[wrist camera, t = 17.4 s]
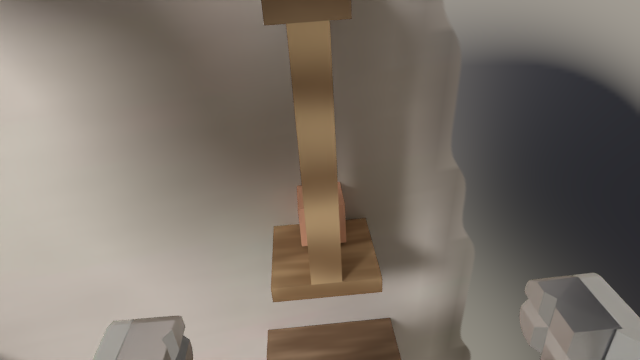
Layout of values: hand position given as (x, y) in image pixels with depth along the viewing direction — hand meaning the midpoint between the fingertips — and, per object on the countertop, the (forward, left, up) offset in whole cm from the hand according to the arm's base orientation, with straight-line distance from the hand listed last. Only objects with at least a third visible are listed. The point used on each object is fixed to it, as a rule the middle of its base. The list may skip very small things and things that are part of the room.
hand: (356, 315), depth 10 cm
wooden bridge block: (+5, 0, -27) cm, 27 cm away
